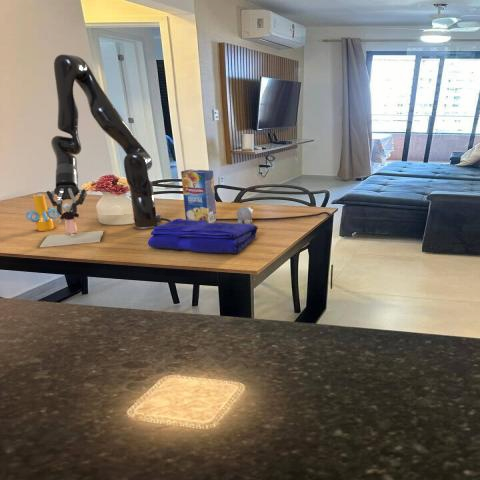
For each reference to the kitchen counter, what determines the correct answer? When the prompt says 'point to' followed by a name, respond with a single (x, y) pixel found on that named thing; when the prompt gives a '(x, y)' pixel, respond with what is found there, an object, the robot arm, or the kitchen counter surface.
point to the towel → (202, 236)
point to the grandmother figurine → (69, 219)
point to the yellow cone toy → (42, 214)
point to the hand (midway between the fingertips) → (67, 213)
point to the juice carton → (199, 195)
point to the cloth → (72, 239)
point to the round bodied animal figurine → (245, 215)
